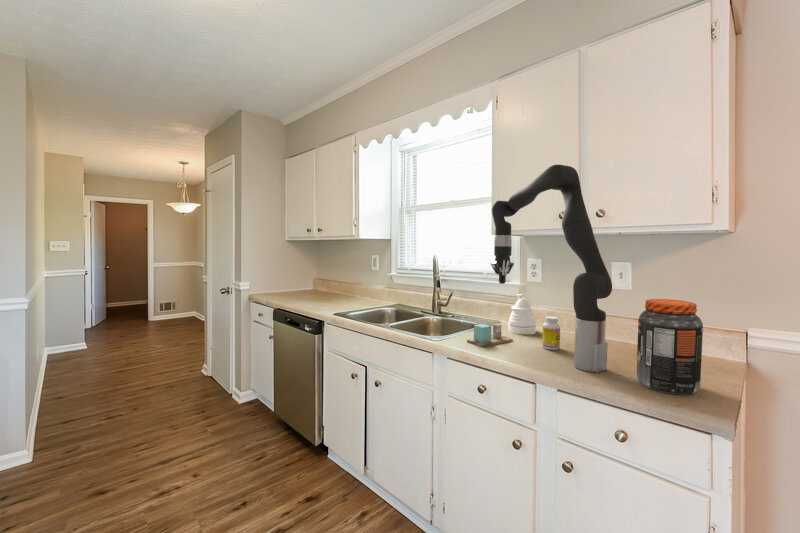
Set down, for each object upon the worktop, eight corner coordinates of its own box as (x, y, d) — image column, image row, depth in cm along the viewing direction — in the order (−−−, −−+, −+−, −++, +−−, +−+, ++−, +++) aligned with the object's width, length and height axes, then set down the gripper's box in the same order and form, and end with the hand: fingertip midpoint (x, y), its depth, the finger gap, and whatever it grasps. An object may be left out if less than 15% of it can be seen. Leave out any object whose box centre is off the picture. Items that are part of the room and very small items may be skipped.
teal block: (491, 341, 159) (491, 326, 159) (482, 342, 156) (482, 327, 156) (482, 338, 164) (482, 323, 163) (473, 340, 161) (474, 325, 160)
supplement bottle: (557, 351, 147) (558, 319, 147) (540, 348, 151) (541, 317, 151) (561, 347, 153) (562, 317, 152) (544, 345, 157) (545, 315, 156)
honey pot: (502, 330, 183) (503, 294, 182) (519, 327, 190) (520, 292, 189) (524, 335, 173) (525, 297, 171) (541, 332, 180) (542, 295, 179)
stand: (512, 341, 163) (513, 325, 163) (483, 347, 153) (483, 330, 153) (495, 336, 172) (495, 321, 171) (466, 341, 162) (467, 326, 161)
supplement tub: (653, 373, 123) (656, 296, 121) (710, 390, 109) (715, 303, 107) (625, 382, 115) (628, 300, 113) (682, 401, 101) (687, 307, 100)
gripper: (499, 245, 160) (498, 285, 161) (519, 245, 167) (518, 283, 168) (486, 245, 166) (485, 283, 167) (506, 245, 173) (505, 281, 174)
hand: (502, 283), depth 168 cm, fingers closed
